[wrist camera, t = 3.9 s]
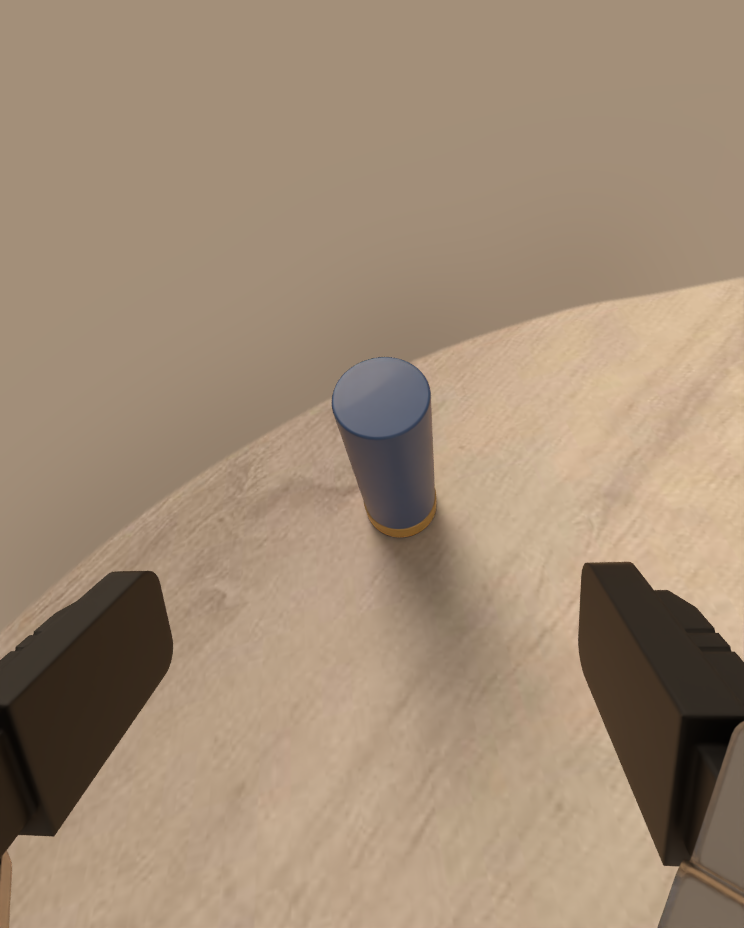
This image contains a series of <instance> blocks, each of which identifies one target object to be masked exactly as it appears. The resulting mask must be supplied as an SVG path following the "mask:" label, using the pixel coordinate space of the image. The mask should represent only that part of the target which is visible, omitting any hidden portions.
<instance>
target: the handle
mask: <svg viewBox="0 0 744 928" xmlns="http://www.w3.org/2000/svg"><path fill="white" fill-rule="evenodd" d="M332 409H333V413H334V416H335V419H336V422H337V425H338V428H339V431H340V434H341V436H342V439H343V442H344V445H345V448H346V451H347V454H348V457H349V460H350V462H351V465H352V468H353V471H354V474H355V477H356V480H357V483H358V485H359V488H360V491H361V494H362V497H363V500H364V506H365V509H366V512H367V515H368V517H369V520H370V521H371V523H372V524H373V525H374V527H375V528H376V529H378V530H379V531H380V532H382V533H384V534H386V535H389V536H392V537H408V536H412V535H415V534H417V533H419V532H421V531H422V530H423V529H425V528H426V527H427V526H428V525H429V523H430V522H431V521H432V519H433V517H434V515H435V511H436V490H435V484H434V460H433V436H432V412H431V391H430V387H429V384H428V381H427V380H426V378H425V376H424V375H423V374H422V372H421V371H420V370H419V369H418V368H416V367H415V366H414V365H412V364H410V363H409V362H406V361H404V360H401V359H397V358H392V357H378V358H372V359H368V360H365V361H363V362H360V363H358V364H356V365H355V366H353V367H351V368H350V369H349V370H348V371H346V372H345V373H344V374H343V375H342V377H341V378H340V379H339V381H338V382H337V384H336V386H335V389H334V392H333V395H332Z"/></svg>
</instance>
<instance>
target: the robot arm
mask: <svg viewBox="0 0 744 928" xmlns="http://www.w3.org/2000/svg"><path fill="white" fill-rule="evenodd" d="M578 646H579V655H580V661H581V666H582V670H583V673H584V676H585V679H586V681H587V684H588V686H589V688H590V691H591V693H592V696H593V698H594V700H595V703H596V705H597V708H598V710H599V712H600V715H601V717H602V719H603V722H604V724H605V727H606V729H607V731H608V734H609V736H610V739H611V741H612V743H613V746H614V748H615V751H616V753H617V755H618V758H619V760H620V763H621V765H622V767H623V770H624V772H625V775H626V777H627V779H628V782H629V784H630V786H631V789H632V791H633V794H634V796H635V798H636V801H637V803H638V806H639V808H640V810H641V813H642V815H643V818H644V820H645V822H646V825H647V827H648V830H649V832H650V834H651V837H652V839H653V841H654V844H655V846H656V849H657V851H658V853H659V856H660V858H661V861H662V863H663V865H664V866H679V869H678V871H677V874H676V876H675V879H674V882H673V884H672V887H671V890H670V893H669V896H668V899H667V902H666V905H665V908H664V911H663V913H662V916H661V919H660V922H659V925H658V928H744V662H743V661H742V660H741V658H740V657H739V656H738V655H737V654H736V653H735V652H731V649H730V646H729V645H728V643H727V642H726V641H725V640H724V639H723V638H722V637H721V635H720V634H719V633H715V629H714V627H713V626H712V625H711V624H710V623H709V622H708V620H707V619H706V618H705V617H704V616H703V615H702V614H701V612H700V611H699V610H698V609H697V608H696V607H695V606H693V605H691V604H690V603H688V602H686V601H685V600H683V599H681V598H680V597H678V596H677V595H675V594H673V593H672V592H670V591H668V590H653V588H652V587H651V586H650V585H649V583H648V582H647V581H646V579H645V578H644V577H643V576H642V574H641V573H640V572H639V570H638V569H637V568H636V567H635V565H634V564H633V563H631V562H600V563H585V564H584V566H583V569H582V575H581V593H580V613H579V634H578ZM172 654H173V639H172V634H171V630H170V625H169V621H168V616H167V612H166V607H165V603H164V599H163V594H162V590H161V585H160V581H159V579H158V577H157V575H156V574H155V573H154V572H152V571H119V572H111V573H109V574H108V575H106V576H105V577H104V578H103V579H102V580H101V581H99V582H98V583H97V584H96V585H95V586H94V587H93V588H91V589H90V590H89V591H88V592H87V593H86V594H85V595H83V596H82V597H81V598H80V599H79V600H78V601H76V602H75V603H73V604H71V605H69V606H67V607H66V608H64V609H62V610H60V611H58V612H57V613H55V614H54V615H53V616H51V617H50V618H49V619H48V620H47V621H46V622H44V623H43V624H42V625H41V626H40V627H39V628H37V629H36V630H35V631H34V634H33V635H29V636H28V637H27V638H26V639H25V640H23V641H22V642H21V643H20V644H19V645H18V646H16V650H15V651H11V652H9V653H8V654H7V655H6V656H5V657H4V658H2V659H1V660H0V928H9V917H10V899H11V881H12V862H11V859H10V857H9V854H8V852H7V849H8V848H9V846H10V845H11V844H12V842H13V841H14V840H15V838H16V837H17V836H18V835H34V836H55V834H56V833H57V831H58V830H59V828H60V827H61V826H62V824H63V823H64V821H65V820H66V818H67V817H68V815H69V814H70V812H71V811H72V810H73V808H74V807H75V805H76V804H77V802H78V801H79V799H80V798H81V796H82V795H83V794H84V792H85V791H86V789H87V788H88V786H89V785H90V783H91V782H92V781H93V779H94V778H95V776H96V775H97V773H98V772H99V770H100V769H101V767H102V766H103V765H104V763H105V762H106V760H107V759H108V757H109V756H110V754H111V753H112V751H113V750H114V749H115V747H116V746H117V744H118V743H119V741H120V740H121V738H122V737H123V735H124V734H125V733H126V731H127V730H128V728H129V727H130V725H131V724H132V722H133V721H134V719H135V718H136V717H137V715H138V714H139V712H140V711H141V709H142V708H143V706H144V705H145V703H146V702H147V701H148V699H149V698H150V696H151V695H152V693H153V692H154V690H155V689H156V687H157V686H158V685H159V683H160V682H161V680H162V679H163V677H164V676H165V674H166V673H167V671H168V669H169V666H170V663H171V660H172Z"/></svg>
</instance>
